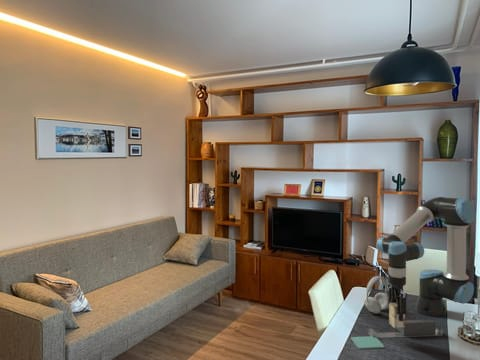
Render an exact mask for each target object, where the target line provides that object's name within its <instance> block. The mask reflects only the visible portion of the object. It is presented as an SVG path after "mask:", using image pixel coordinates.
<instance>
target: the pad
mask: <svg viewBox="0 0 480 360" xmlns="http://www.w3.org/2000/svg"><path fill="white" fill-rule="evenodd" d="M350 340H352V342H353V344H354V345H355V346H356V347H357V349H358V348H359V349H358V350H365V349H367V350H368V349H385V345H384V344H383V342H381V341H380V339H379V338H376V337H372V336H370V335H369V336H351V337H350Z"/></svg>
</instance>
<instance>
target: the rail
mask: <svg viewBox="0 0 480 360" xmlns="http://www.w3.org/2000/svg"><path fill="white" fill-rule="evenodd" d="M368 335H369V336H372V337H376V338H377V339H389V338H411V337H413V338H414V337H415V338H416V337H434V336H437V337H438V336H439V337H441V336H444V329H442V328H441V327H440V326H437V325H436V334H427V335H403V334H402V333H401V332H399V331H395V332H375V330H374V329H373V328H368Z"/></svg>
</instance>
